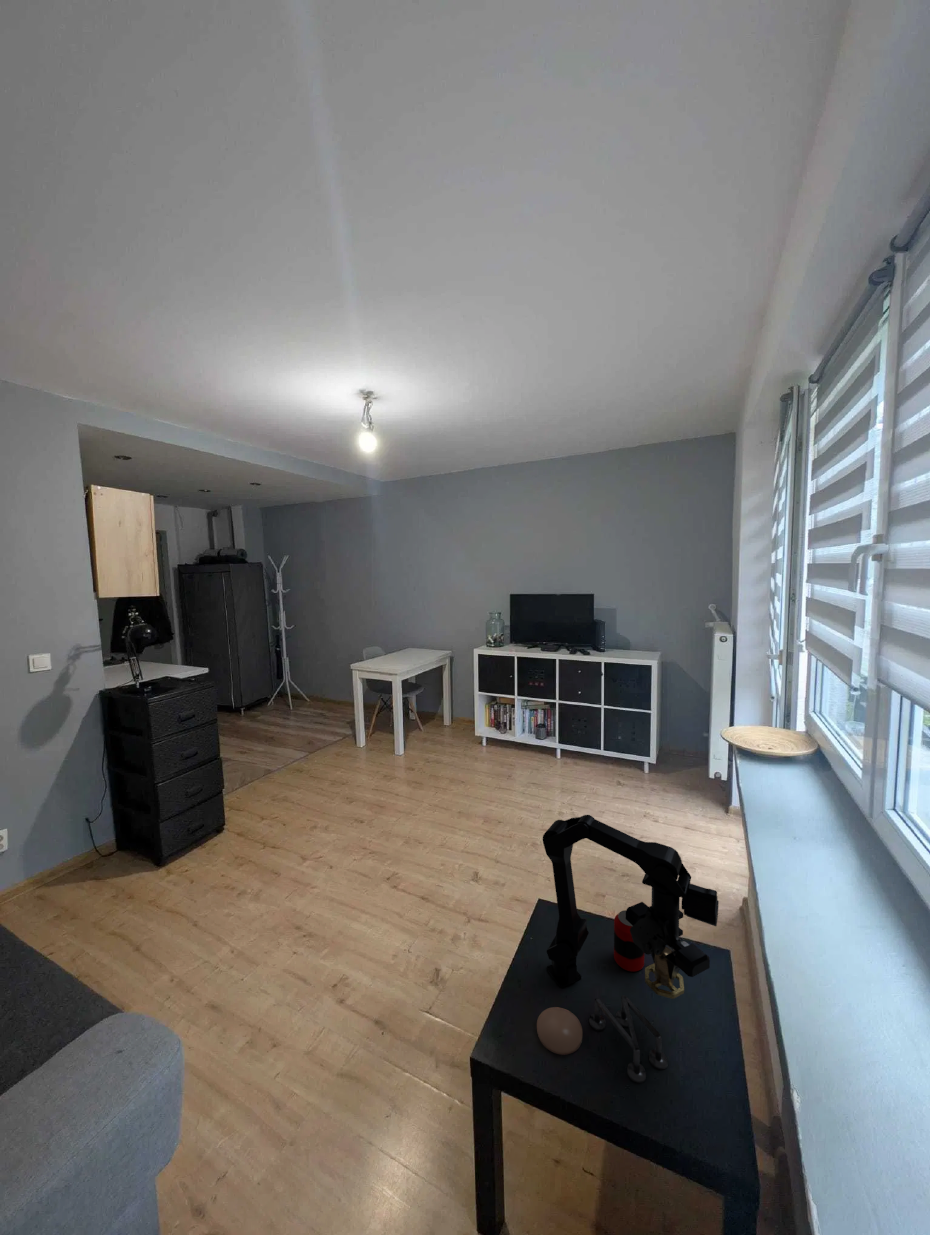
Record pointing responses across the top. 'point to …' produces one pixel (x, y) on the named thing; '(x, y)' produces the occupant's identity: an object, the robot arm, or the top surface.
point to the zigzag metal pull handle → (625, 1020)
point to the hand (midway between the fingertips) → (664, 970)
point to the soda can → (626, 945)
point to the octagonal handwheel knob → (663, 976)
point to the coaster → (559, 1030)
